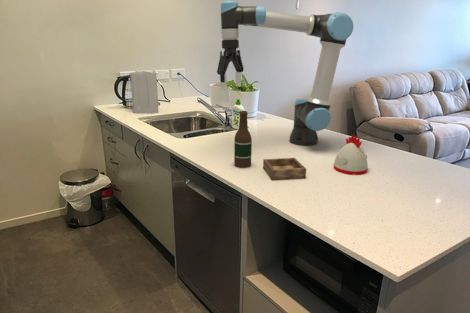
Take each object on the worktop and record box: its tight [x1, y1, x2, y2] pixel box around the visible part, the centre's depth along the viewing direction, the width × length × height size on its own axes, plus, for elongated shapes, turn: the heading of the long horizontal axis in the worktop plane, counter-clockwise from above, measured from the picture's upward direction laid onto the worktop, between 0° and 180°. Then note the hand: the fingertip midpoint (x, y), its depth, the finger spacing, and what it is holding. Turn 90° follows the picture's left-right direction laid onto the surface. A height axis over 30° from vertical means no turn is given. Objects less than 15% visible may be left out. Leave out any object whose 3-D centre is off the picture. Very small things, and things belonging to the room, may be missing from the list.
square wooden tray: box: [262, 157, 307, 181], centre depth 150 cm, size 14×14×4 cm
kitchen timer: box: [333, 134, 369, 176], centre depth 154 cm, size 14×14×15 cm
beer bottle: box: [233, 110, 253, 169], centre depth 155 cm, size 8×8×24 cm
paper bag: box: [129, 70, 160, 115], centre depth 260 cm, size 19×15×28 cm
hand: (231, 87), depth 166 cm, fingers open, 13 cm apart
